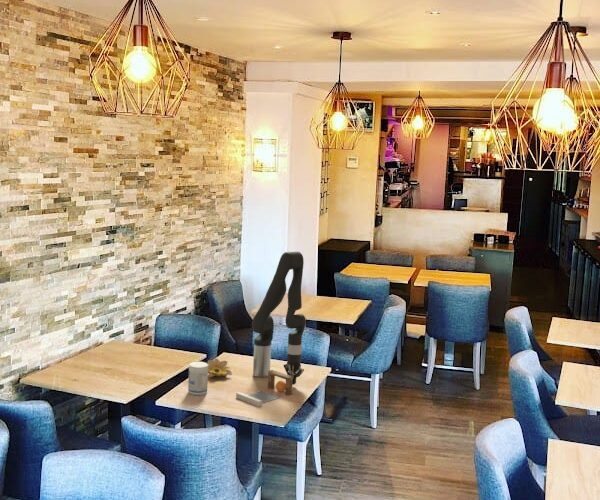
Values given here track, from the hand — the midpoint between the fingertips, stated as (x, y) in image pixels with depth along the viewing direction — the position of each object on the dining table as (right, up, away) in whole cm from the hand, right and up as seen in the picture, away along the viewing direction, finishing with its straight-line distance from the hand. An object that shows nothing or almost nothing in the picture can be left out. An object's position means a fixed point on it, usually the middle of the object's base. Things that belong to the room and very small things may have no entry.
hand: (293, 384), depth 362 cm
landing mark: (-15, -3, -17) cm, 23 cm away
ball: (-6, 0, -8) cm, 10 cm away
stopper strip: (-21, -4, -24) cm, 32 cm away
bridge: (-7, -2, -7) cm, 10 cm away
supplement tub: (-48, -2, -14) cm, 50 cm away
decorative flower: (-41, +2, +11) cm, 43 cm away
